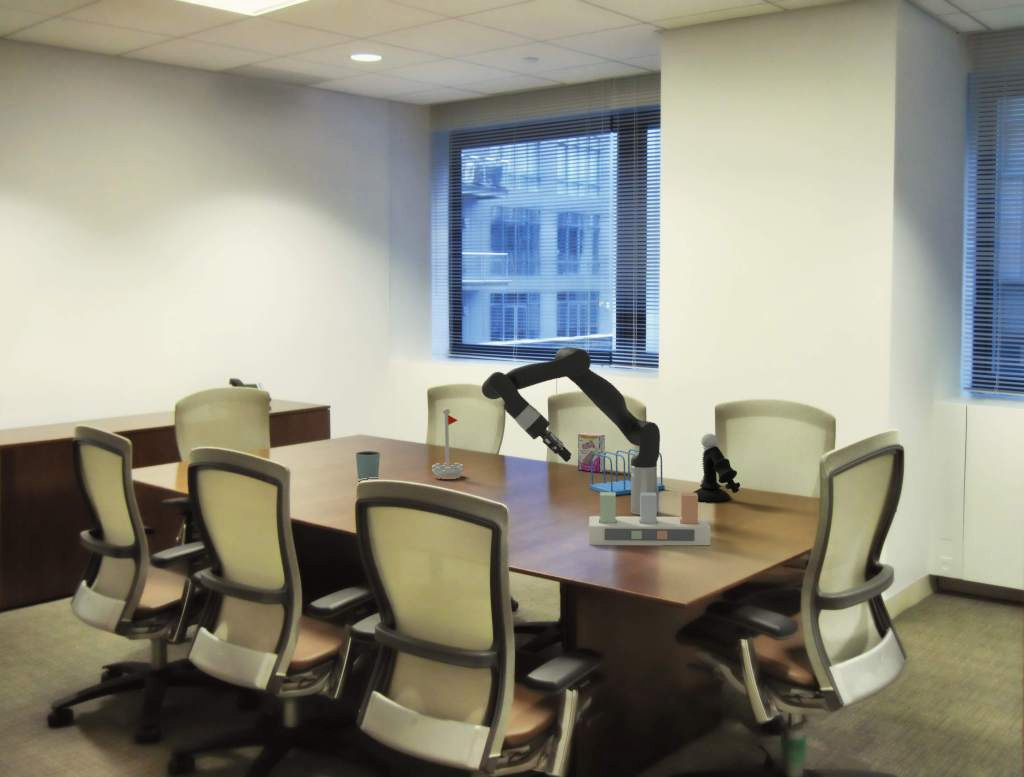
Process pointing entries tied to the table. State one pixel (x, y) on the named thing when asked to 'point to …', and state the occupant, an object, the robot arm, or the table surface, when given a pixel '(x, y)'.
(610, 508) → the key sage
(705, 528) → the white flat bar
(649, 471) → the robot arm
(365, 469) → the teal tapered cup
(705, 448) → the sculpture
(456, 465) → the flag stand
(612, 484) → the file sorter
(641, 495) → the key grey
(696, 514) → the key terracotta
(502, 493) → the table surface
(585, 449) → the candy bar box
